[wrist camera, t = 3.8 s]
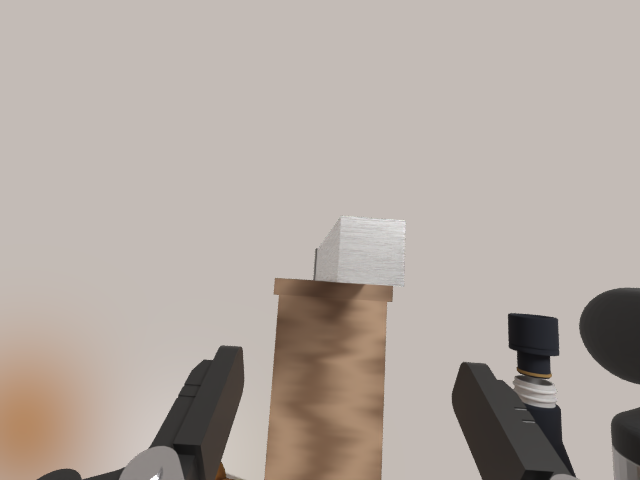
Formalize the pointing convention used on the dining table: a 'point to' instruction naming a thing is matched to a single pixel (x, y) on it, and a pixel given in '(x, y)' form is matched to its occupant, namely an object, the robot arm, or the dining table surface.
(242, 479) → the dining table surface
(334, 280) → the aluminium bar
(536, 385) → the wine bottle
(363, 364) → the walnut stand
